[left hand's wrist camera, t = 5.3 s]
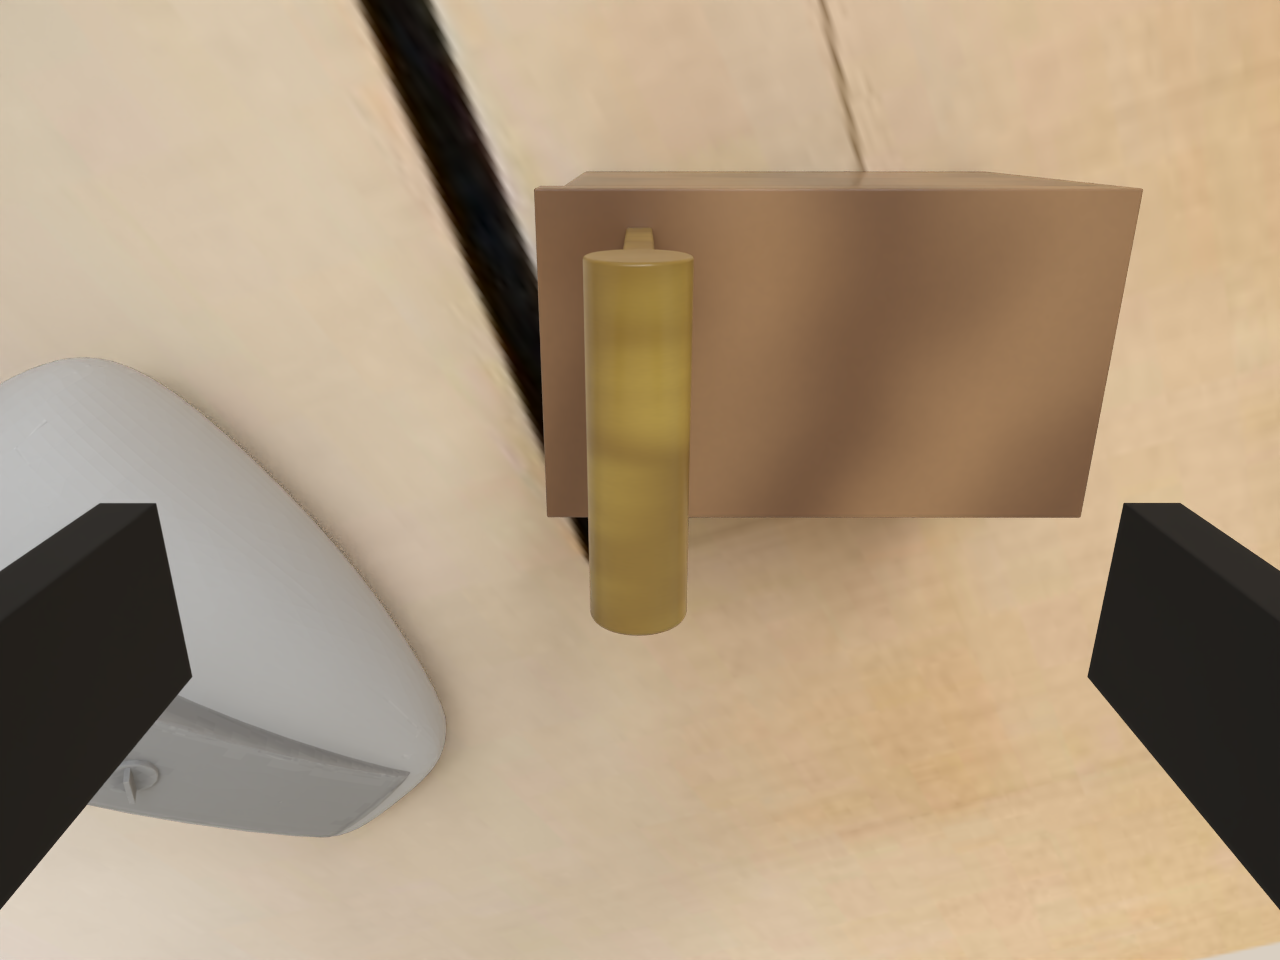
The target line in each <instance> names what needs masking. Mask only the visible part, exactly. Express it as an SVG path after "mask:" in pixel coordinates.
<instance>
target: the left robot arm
mask: <svg viewBox="0 0 1280 960" xmlns="http://www.w3.org/2000/svg"><path fill="white" fill-rule="evenodd" d="M191 678H192V672H191V668H190V663H189V658H188V653H187V648H186V644H185V639H184V634H183V629H182V624H181V620H180V615H179V610H178V605H177V600H176V596H175V591H174V586H173V581H172V576H171V572H170V567H169V562H168V557H167V552H166V548H165V543H164V538H163V533H162V528H161V524H160V519H159V514H158V509H157V504H156V503H99V504H98V505H96V506H95V507H93V508H92V509H90V510H89V511H87V512H86V513H84V514H83V515H82V516H80V517H79V518H77V519H76V520H74V521H73V522H71V523H70V524H68V525H67V526H65V527H64V528H62V529H61V530H60V531H58V532H57V533H55V534H54V535H52V536H51V537H49V538H48V539H46V540H45V541H43V542H42V543H40V544H39V545H38V546H36V547H35V548H33V549H32V550H30V551H29V552H27V553H26V554H24V555H23V556H21V557H20V558H18V559H17V560H16V561H14V562H13V563H11V564H10V565H8V566H7V567H5V568H4V569H2V570H1V571H0V909H1V908H2V907H3V906H4V905H5V903H6V902H7V901H8V900H9V899H10V897H11V896H12V895H13V894H14V892H15V891H16V890H17V889H18V888H19V886H20V885H21V884H22V883H23V882H24V880H25V879H26V878H27V877H28V876H29V874H30V873H31V872H32V871H33V869H34V868H35V867H36V866H37V865H38V863H39V862H40V861H41V860H42V859H43V857H44V856H45V855H46V854H47V852H48V851H49V850H50V849H51V848H52V846H53V845H54V844H55V843H56V842H57V840H58V839H59V838H60V837H61V836H62V834H63V833H64V832H65V831H66V829H67V828H68V827H69V826H70V825H71V823H72V822H73V821H74V820H75V819H76V817H77V816H78V815H79V814H80V813H81V811H82V810H83V809H84V808H85V806H86V805H87V804H88V803H89V802H90V800H91V799H92V798H93V797H94V796H95V794H96V793H97V792H98V791H99V789H100V788H101V787H102V786H103V785H104V783H105V782H106V781H107V780H108V779H109V777H110V776H111V775H112V774H113V773H114V771H115V770H116V769H117V768H118V766H119V765H120V764H121V763H122V762H123V760H124V759H125V758H126V757H127V756H128V754H129V753H130V752H131V751H132V750H133V748H134V747H135V746H136V745H137V743H138V742H139V741H140V740H141V739H142V737H143V736H144V735H145V734H146V733H147V731H148V730H149V729H150V728H151V726H152V725H153V724H154V723H155V722H156V720H157V719H158V718H159V717H160V716H161V714H162V713H163V712H164V711H165V710H166V708H167V707H168V706H169V705H170V703H171V702H172V701H173V700H174V699H175V697H176V696H177V695H178V694H179V693H180V691H181V690H182V689H183V688H184V686H185V685H186V684H187V683H188V682H189V680H190V679H191ZM1088 678H1089V679H1090V680H1091V682H1092V683H1093V684H1094V685H1095V686H1096V688H1097V689H1098V690H1099V691H1100V693H1101V694H1102V695H1103V696H1104V697H1105V699H1106V700H1107V701H1108V702H1109V703H1110V705H1111V706H1112V707H1113V708H1114V710H1115V711H1116V712H1117V713H1118V714H1119V716H1120V717H1121V718H1122V719H1123V720H1124V722H1125V723H1126V724H1127V725H1128V726H1129V728H1130V729H1131V730H1132V731H1133V733H1134V734H1135V735H1136V736H1137V737H1138V739H1139V740H1140V741H1141V742H1142V743H1143V745H1144V746H1145V747H1146V748H1147V750H1148V751H1149V752H1150V753H1151V754H1152V756H1153V757H1154V758H1155V759H1156V760H1157V762H1158V763H1159V764H1160V765H1161V766H1162V768H1163V769H1164V770H1165V771H1166V773H1167V774H1168V775H1169V776H1170V777H1171V779H1172V780H1173V781H1174V782H1175V783H1176V785H1177V786H1178V787H1179V788H1180V789H1181V791H1182V792H1183V793H1184V794H1185V796H1186V797H1187V798H1188V799H1189V800H1190V802H1191V803H1192V804H1193V805H1194V806H1195V808H1196V809H1197V810H1198V811H1199V813H1200V814H1201V815H1202V816H1203V817H1204V819H1205V820H1206V821H1207V822H1208V823H1209V825H1210V826H1211V827H1212V828H1213V829H1214V831H1215V832H1216V833H1217V834H1218V836H1219V837H1220V838H1221V839H1222V840H1223V842H1224V843H1225V844H1226V845H1227V846H1228V848H1229V849H1230V850H1231V851H1232V852H1233V854H1234V855H1235V856H1236V857H1237V859H1238V860H1239V861H1240V862H1241V863H1242V865H1243V866H1244V867H1245V868H1246V869H1247V871H1248V872H1249V873H1250V874H1251V876H1252V877H1253V878H1254V879H1255V880H1256V882H1257V883H1258V884H1259V885H1260V886H1261V888H1262V889H1263V890H1264V891H1265V892H1266V894H1267V895H1268V896H1269V897H1270V899H1271V900H1272V901H1273V902H1274V903H1275V905H1276V906H1277V907H1278V908H1279V909H1280V571H1279V570H1278V569H1276V568H1275V567H1273V566H1272V565H1270V564H1269V563H1267V562H1266V561H1264V560H1263V559H1262V558H1260V557H1259V556H1257V555H1256V554H1254V553H1253V552H1251V551H1250V550H1248V549H1247V548H1245V547H1244V546H1242V545H1241V544H1240V543H1238V542H1237V541H1235V540H1234V539H1232V538H1231V537H1229V536H1228V535H1226V534H1225V533H1223V532H1222V531H1220V530H1219V529H1218V528H1216V527H1215V526H1213V525H1212V524H1210V523H1209V522H1207V521H1206V520H1204V519H1203V518H1201V517H1200V516H1198V515H1197V514H1196V513H1194V512H1193V511H1191V510H1190V509H1188V508H1187V507H1185V506H1184V505H1182V504H1181V503H1124V504H1123V509H1122V514H1121V519H1120V523H1119V528H1118V533H1117V538H1116V543H1115V548H1114V552H1113V557H1112V562H1111V567H1110V572H1109V576H1108V581H1107V586H1106V591H1105V596H1104V600H1103V605H1102V610H1101V615H1100V620H1099V624H1098V629H1097V634H1096V639H1095V644H1094V648H1093V653H1092V658H1091V663H1090V668H1089V672H1088Z"/></svg>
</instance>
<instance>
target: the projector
mask: <svg viewBox="0 0 1280 960" xmlns="http://www.w3.org/2000/svg"><path fill="white" fill-rule="evenodd" d="M99 503H156V504H157V509H158V514H159V519H160V524H161V528H162V533H163V538H164V543H165V548H166V552H167V557H168V562H169V567H170V572H171V576H172V581H173V586H174V591H175V596H176V600H177V605H178V610H179V615H180V620H181V624H182V629H183V634H184V639H185V644H186V648H187V653H188V658H189V663H190V668H191V672H192V678H191V679H190V680H189V682H188V683H187V684H186V685H185V686H184V688H183V689H182V690H181V691H180V693H179V694H178V695H177V696H176V697H175V699H174V700H173V701H172V702H171V703H170V705H169V706H168V707H167V708H166V710H165V711H164V712H163V713H162V714H161V716H160V717H159V718H158V719H157V720H156V722H155V723H154V724H153V725H152V726H151V728H150V729H149V730H148V731H147V733H146V734H145V735H144V736H143V737H142V739H141V740H140V741H139V742H138V743H137V745H136V746H135V747H134V748H133V750H132V751H131V752H130V753H129V754H128V756H127V757H126V758H125V759H124V760H123V762H122V763H121V764H120V765H119V766H118V768H117V769H116V770H115V771H114V773H113V774H112V775H111V776H110V777H109V779H108V780H107V781H106V782H105V783H104V785H103V786H102V787H101V788H100V789H99V791H98V792H97V793H96V794H95V796H94V797H93V798H92V799H91V800H90V802H89V803H88V804H87V805H92V806H96V807H101V808H106V809H111V810H116V811H120V812H125V813H130V814H136V815H142V816H148V817H153V818H159V819H165V820H171V821H177V822H183V823H190V824H197V825H204V826H211V827H219V828H226V829H233V830H240V831H248V832H258V833H269V834H279V835H289V836H307V837H331V836H337V835H342V834H345V833H348V832H350V831H353V830H355V829H357V828H359V827H361V826H363V825H365V824H366V823H368V822H369V821H371V820H373V819H374V818H376V817H377V816H379V815H380V814H381V813H383V812H384V811H385V810H387V809H388V808H389V807H391V806H392V805H393V804H395V803H396V802H397V801H398V800H400V799H401V798H402V797H403V796H405V795H406V794H407V793H408V792H409V791H411V790H412V789H413V788H414V787H415V786H416V785H417V784H419V783H420V782H421V781H422V780H423V779H424V778H425V777H426V776H427V774H428V773H429V772H430V771H431V770H432V769H433V767H434V766H435V765H436V763H437V761H438V760H439V758H440V755H441V753H442V750H443V747H444V744H445V737H446V718H445V714H444V711H443V708H442V705H441V703H440V700H439V698H438V696H437V694H436V692H435V689H434V687H433V685H432V684H431V682H430V680H429V678H428V676H427V675H426V673H425V671H424V669H423V667H422V665H421V664H420V662H419V660H418V659H417V657H416V656H415V654H414V652H413V651H412V649H411V648H410V646H409V644H408V643H407V641H406V640H405V638H404V636H403V635H402V633H401V632H400V630H399V629H398V627H397V626H396V624H395V623H394V621H393V620H392V619H391V617H390V616H389V614H388V613H387V611H386V610H385V608H384V607H383V605H382V604H381V603H380V601H379V600H378V598H377V597H376V596H375V594H374V593H373V592H372V590H371V589H370V588H369V586H368V585H367V584H366V582H365V581H364V580H363V579H362V577H361V576H360V575H359V573H358V572H357V571H356V570H355V568H354V567H353V566H352V565H351V564H350V562H349V561H348V560H347V559H346V557H345V556H344V555H343V554H342V552H341V551H340V550H339V549H338V548H337V547H336V546H335V544H334V543H333V542H332V541H331V540H330V539H329V538H328V536H327V535H326V534H325V533H324V532H323V531H322V530H321V529H320V527H319V526H318V525H317V524H316V523H315V522H314V521H313V519H312V518H311V517H310V516H309V515H308V514H307V513H306V512H305V511H304V510H303V509H302V508H301V507H300V506H299V505H298V504H297V503H296V502H295V501H294V500H293V498H292V497H291V496H290V495H289V494H288V493H287V492H286V491H285V490H284V489H283V488H282V487H281V486H280V485H279V484H278V483H277V482H276V481H275V480H274V479H273V478H272V477H271V476H270V475H269V474H268V473H267V472H266V471H265V470H264V469H263V468H262V467H260V466H259V465H258V464H257V463H256V462H255V461H254V460H253V459H252V458H251V457H250V456H249V455H248V454H247V453H246V452H245V451H243V450H242V449H241V448H240V447H239V446H238V445H237V444H236V443H235V442H234V441H233V440H232V439H230V438H229V437H228V436H227V435H226V434H225V433H224V432H223V431H221V430H220V429H219V428H218V427H217V426H216V425H214V424H213V423H212V422H211V421H210V420H208V419H207V418H206V417H205V416H204V415H203V414H201V413H200V412H199V411H198V410H196V409H195V408H194V407H192V406H191V405H190V404H189V403H187V402H186V401H185V400H183V399H182V398H181V397H179V396H178V395H177V394H175V393H174V392H172V391H171V390H169V389H168V388H166V387H165V386H163V385H162V384H160V383H159V382H157V381H156V380H154V379H152V378H150V377H149V376H147V375H145V374H143V373H141V372H139V371H137V370H135V369H133V368H130V367H127V366H125V365H122V364H119V363H116V362H113V361H109V360H104V359H97V358H87V357H86V358H68V359H63V360H57V361H53V362H50V363H47V364H43V365H41V366H38V367H35V368H32V369H29V370H27V371H25V372H23V373H21V374H18V375H16V376H14V377H12V378H10V379H8V380H6V381H5V382H3V383H1V384H0V571H1V570H2V569H4V568H5V567H7V566H8V565H10V564H11V563H13V562H14V561H16V560H17V559H18V558H20V557H21V556H23V555H24V554H26V553H27V552H29V551H30V550H32V549H33V548H35V547H36V546H38V545H39V544H40V543H42V542H43V541H45V540H46V539H48V538H49V537H51V536H52V535H54V534H55V533H57V532H58V531H60V530H61V529H62V528H64V527H65V526H67V525H68V524H70V523H71V522H73V521H74V520H76V519H77V518H79V517H80V516H82V515H83V514H84V513H86V512H87V511H89V510H90V509H92V508H93V507H95V506H96V505H98V504H99Z"/></svg>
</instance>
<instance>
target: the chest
mask: <svg viewBox="0 0 1280 960" xmlns="http://www.w3.org/2000/svg"><path fill="white" fill-rule="evenodd" d="M565 186H1113V185H1103V184H1094V183H1085V182H1076V181H1066V180H1057V179H1048V178H1039V177H1029V176H1020V175H1011V174H1002V173H991V172H585V173H583V174H582V175H580V176H579V177H577V178H576V179H574V180H573V181H571V182H570V183H568V184H567V185H565Z"/></svg>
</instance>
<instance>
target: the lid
mask: <svg viewBox="0 0 1280 960" xmlns="http://www.w3.org/2000/svg"><path fill="white" fill-rule="evenodd" d="M1142 192H1143V189H1140V188H1131V187H1122V186H540V187H538V188H536V189H534V198H535V224H536V249H537V274H538V299H539V324H540V349H541V374H542V399H543V424H544V449H545V474H546V499H547V516H548V517H588V524H589V569H590V612H591V615H592V617H593V619H594V621H595V622H596V623H597V624H598V625H600V626H601V627H603V628H605V629H607V630H609V631H612V632H615V633H619V634H625V635H637V636H639V635H652V634H658V633H661V632H665V631H668V630H670V629H672V628H674V627H676V626H677V625H678V624H680V623H681V621H682V620H683V619H684V617H685V615H686V609H687V562H688V517H1019V518H1079V517H1081V512H1082V506H1083V501H1084V496H1085V491H1086V485H1087V480H1088V475H1089V470H1090V464H1091V459H1092V454H1093V449H1094V444H1095V438H1096V433H1097V428H1098V423H1099V417H1100V412H1101V407H1102V402H1103V396H1104V391H1105V386H1106V381H1107V375H1108V370H1109V365H1110V360H1111V355H1112V349H1113V344H1114V339H1115V334H1116V328H1117V323H1118V318H1119V313H1120V307H1121V302H1122V297H1123V292H1124V286H1125V281H1126V276H1127V271H1128V266H1129V260H1130V255H1131V250H1132V245H1133V239H1134V234H1135V229H1136V224H1137V218H1138V213H1139V208H1140V203H1141V197H1142Z"/></svg>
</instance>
